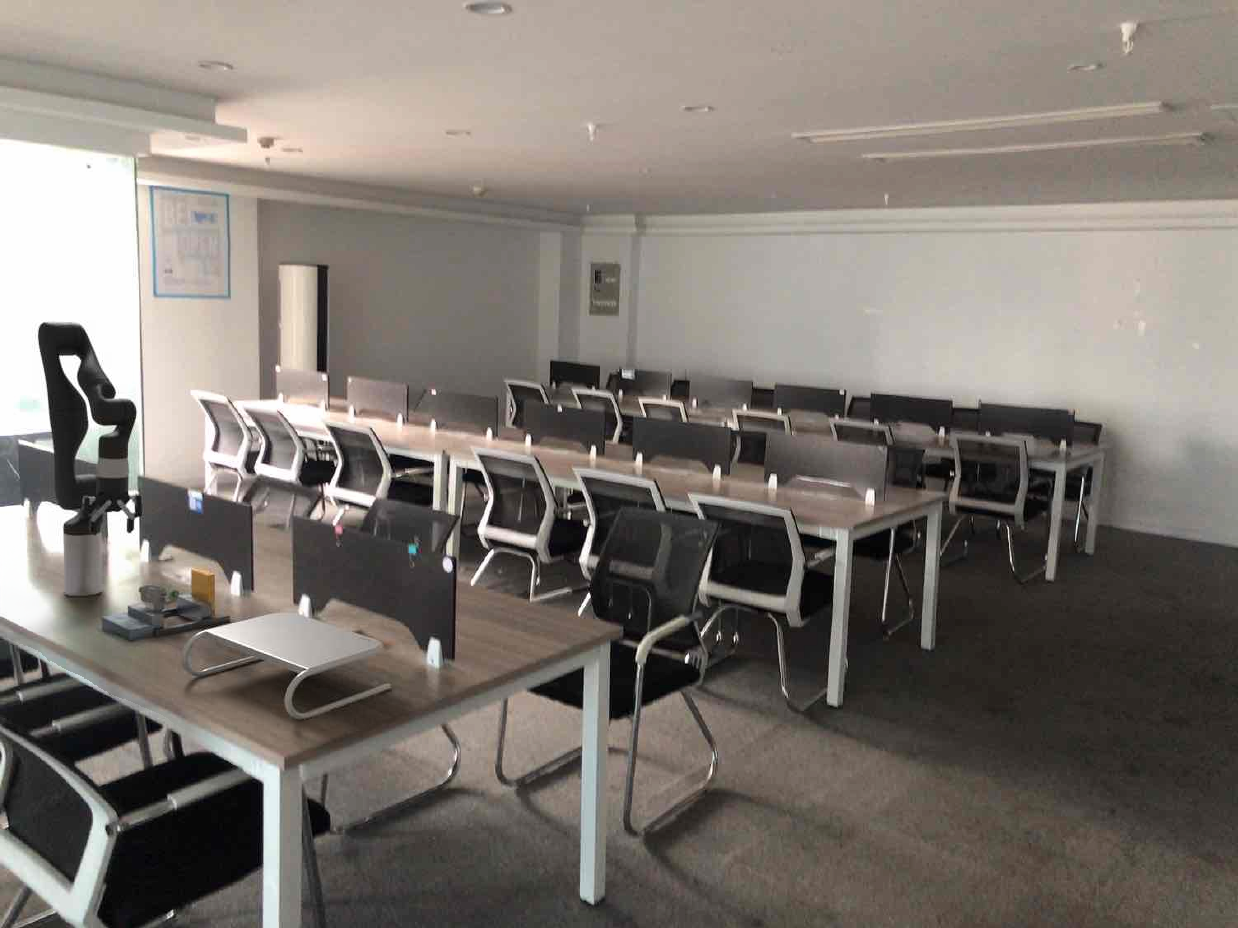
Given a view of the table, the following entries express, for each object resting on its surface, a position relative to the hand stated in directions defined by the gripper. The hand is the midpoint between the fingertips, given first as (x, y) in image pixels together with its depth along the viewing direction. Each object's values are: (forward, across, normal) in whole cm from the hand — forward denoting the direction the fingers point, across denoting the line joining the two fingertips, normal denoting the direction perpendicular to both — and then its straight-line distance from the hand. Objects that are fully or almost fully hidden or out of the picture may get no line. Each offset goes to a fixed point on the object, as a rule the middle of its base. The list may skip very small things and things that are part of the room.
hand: (111, 533), depth 264 cm
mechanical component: (+19, -6, +23) cm, 31 cm away
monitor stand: (+17, -18, +78) cm, 81 cm away
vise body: (+19, -8, +22) cm, 31 cm away
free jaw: (+19, -17, +20) cm, 32 cm away
